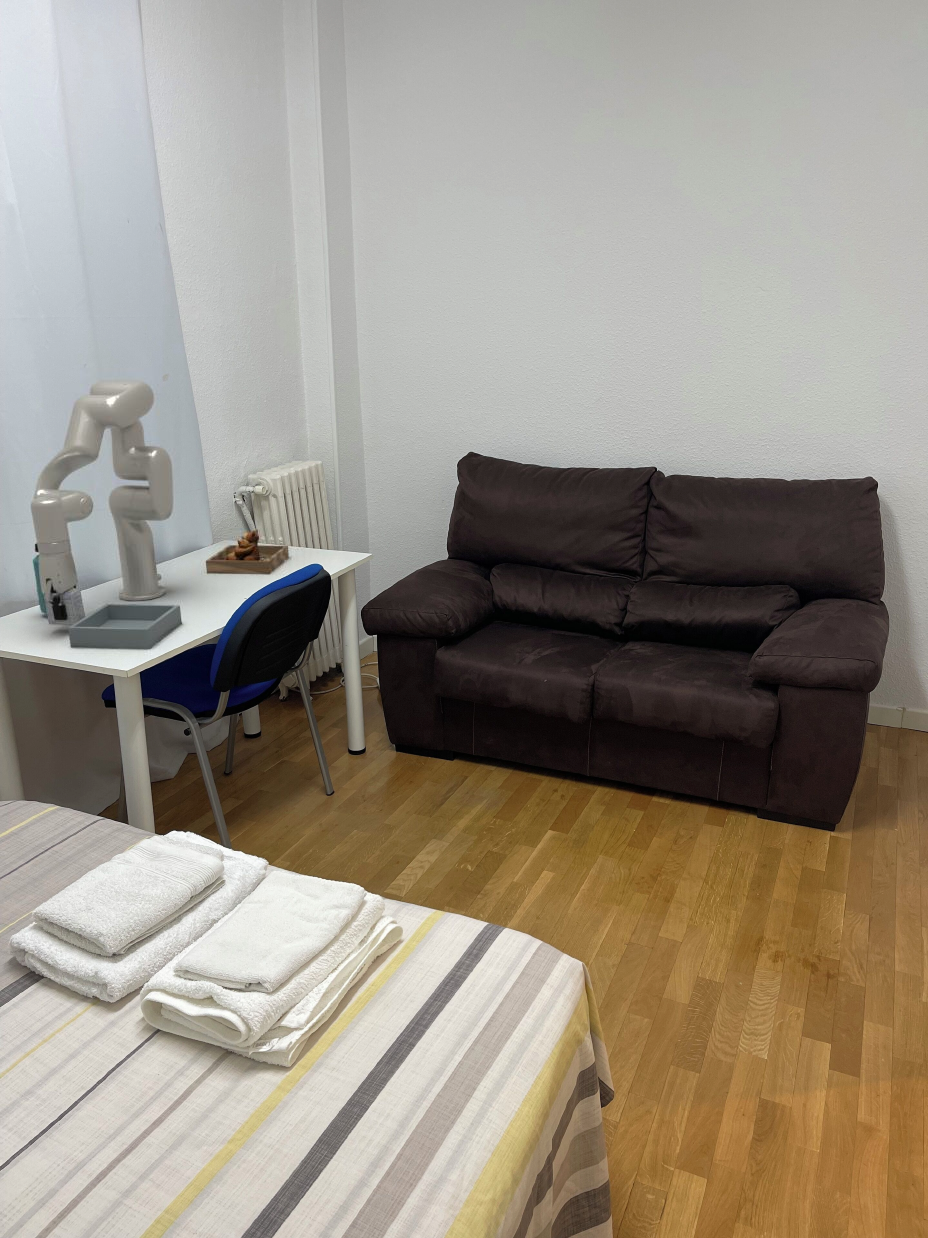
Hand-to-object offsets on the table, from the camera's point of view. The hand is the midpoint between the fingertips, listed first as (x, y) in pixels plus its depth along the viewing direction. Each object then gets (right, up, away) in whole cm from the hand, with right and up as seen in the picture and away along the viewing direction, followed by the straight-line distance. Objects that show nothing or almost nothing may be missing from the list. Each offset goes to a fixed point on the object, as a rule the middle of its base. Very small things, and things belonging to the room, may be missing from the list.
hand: (66, 615), depth 245 cm
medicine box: (0, -2, +1) cm, 2 cm away
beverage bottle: (-9, 0, +15) cm, 18 cm away
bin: (+17, -5, -2) cm, 17 cm away
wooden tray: (+32, +16, +63) cm, 73 cm away
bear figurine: (+32, +15, +61) cm, 70 cm away
